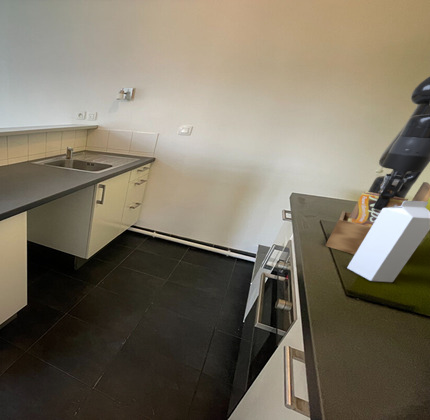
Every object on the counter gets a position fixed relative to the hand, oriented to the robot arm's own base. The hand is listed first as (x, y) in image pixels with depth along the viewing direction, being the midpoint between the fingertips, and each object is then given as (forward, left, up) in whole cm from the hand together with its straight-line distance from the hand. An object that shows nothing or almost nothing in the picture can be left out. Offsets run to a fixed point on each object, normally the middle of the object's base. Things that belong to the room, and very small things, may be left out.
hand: (378, 207), depth 77 cm
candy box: (0, 0, -11) cm, 11 cm away
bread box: (0, 0, -15) cm, 15 cm away
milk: (+21, +3, -15) cm, 26 cm away
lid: (0, +6, +2) cm, 6 cm away
